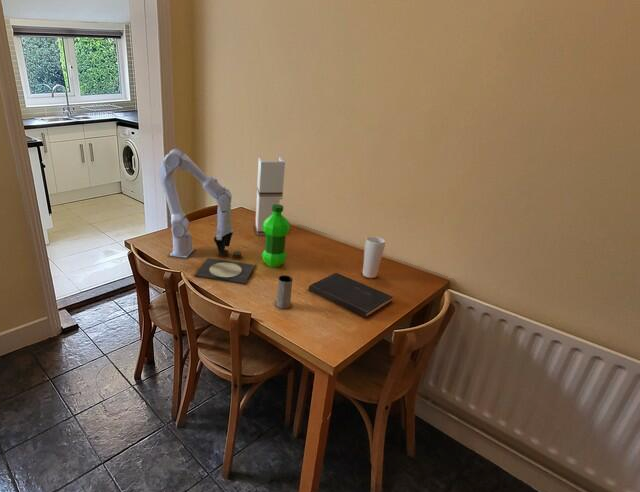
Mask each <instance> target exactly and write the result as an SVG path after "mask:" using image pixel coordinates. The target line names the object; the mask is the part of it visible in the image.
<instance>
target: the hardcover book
mask: <svg viewBox="0 0 640 492" xmlns="http://www.w3.org/2000/svg"><path fill="white" fill-rule="evenodd" d="M308 291H309V292H311V293H313V294H316V295H317V296H320V297H322V298H323V299H326V300H328V301H330V302H332V303H334V304H336V305H339V306H341V307H342V308H344V309H346V310H348V311H350V312H353V313H355V314H357V315H359V316H361V317H363V318H365V319H368V317H370V316H372V315H373V314H375V313H377V312H378V311H380V310H382V309H384V308H385V307H386V306H388V305H389V304H391V303H392V302H393V301H392V298H393V295H390V294H387V293H386V292H383V291H380V290H378V289H376V288H374V287H371V286H368V285H366V284H364V283H362V282H359V281H357V280H354V279H352V278H349V276H348V277H347V276H345V275H343V274H341V273H338V272H334V273H332V274H330V275H328V276H326V277H324V278H321V279H320V280H317V281H316V282H314V283H312V284H310V285H309V286H308Z"/></svg>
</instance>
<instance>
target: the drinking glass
mask: <svg viewBox="0 0 640 492" xmlns="http://www.w3.org/2000/svg"><path fill="white" fill-rule="evenodd" d="M385 246H386V240H385V239H384V238H382V237H379V236H368V237H366V238H365V243H364V250H363V264H362V276H363V277H365V278H368V279H374V278H377V276H378V272H379V268H380V265H381V262H382V258H383V255H384V251H385Z"/></svg>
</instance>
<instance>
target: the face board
mask: <svg viewBox="0 0 640 492" xmlns="http://www.w3.org/2000/svg"><path fill="white" fill-rule="evenodd" d="M255 265H256V264H252V263H250V264H249V263H243V262H236V261H229V260H222V259H215V258H207V259H206V261H204V263H203V264H202V266H201V267H200V268H199V269H198V270H197V272H196V273H195V274H194V277H195V278H202V279H208V280H216V281H222V282H227V283H233V284H240V285H246V283H247V282H248V280H249V278H250V275H251V274H252V272H253V270H254V269H255Z"/></svg>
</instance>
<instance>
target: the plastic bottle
mask: <svg viewBox="0 0 640 492" xmlns="http://www.w3.org/2000/svg"><path fill="white" fill-rule="evenodd" d="M272 211H273V214H272V215H271V216H269V217H268V218H267V219H266V220H265V221H264V223H263V231H264V232H265V233H266V235H264V236H265V239H264V250H263V251H262V253H261V258H262V260H263V262H264V264H266V265H267V266H268V267H270V268H279V267H280V266H281V265H283V264H284V263H285V261H286V260H287V256H288V255H287V252H286V250H285V249H286V238H287V234H288V233H289V232H290V228H291V224H290V221H288V219H287V218H286V217H285V216H283V214H282V212H284V206H283V204H279V205H278V204H275V205H273V206H272Z"/></svg>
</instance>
